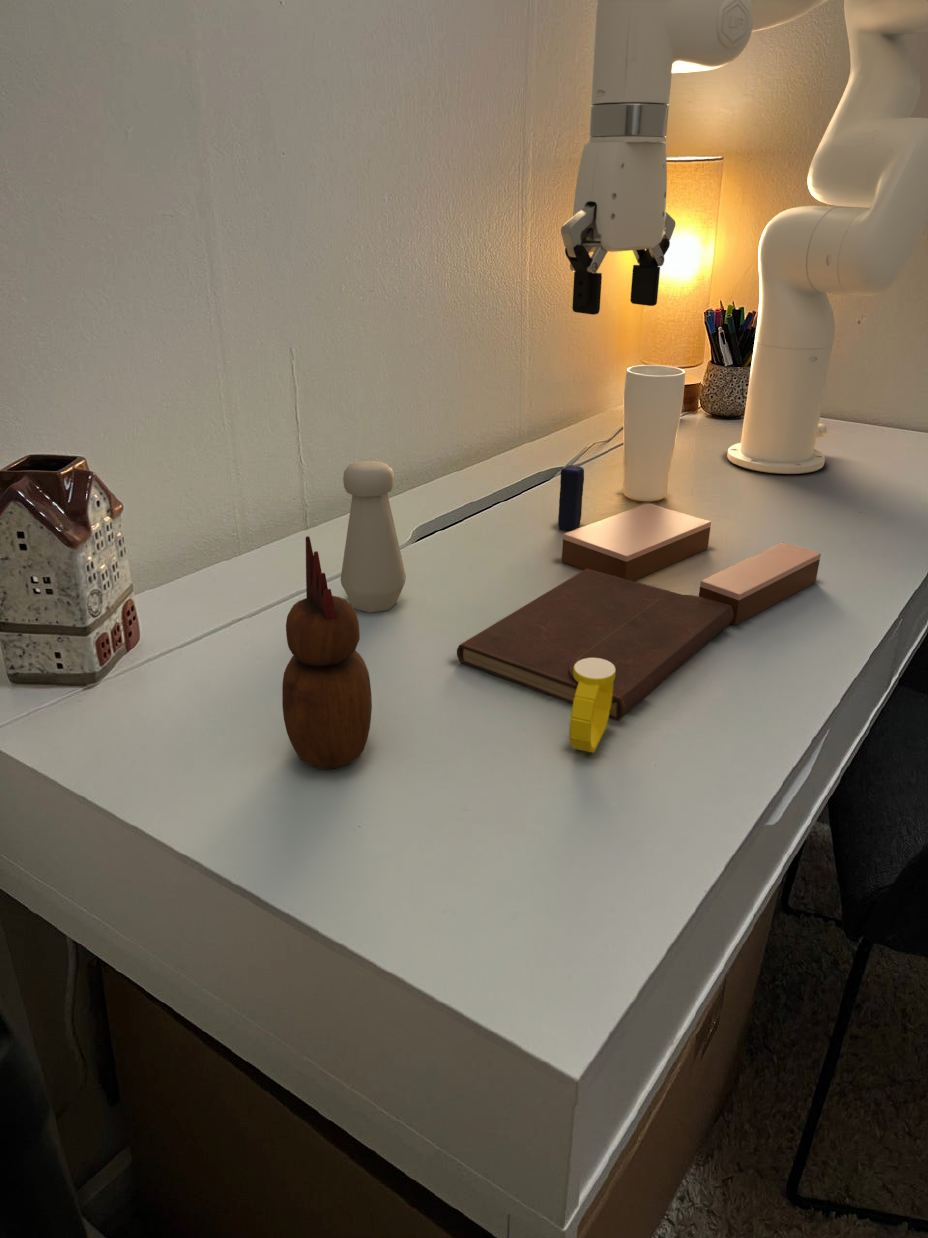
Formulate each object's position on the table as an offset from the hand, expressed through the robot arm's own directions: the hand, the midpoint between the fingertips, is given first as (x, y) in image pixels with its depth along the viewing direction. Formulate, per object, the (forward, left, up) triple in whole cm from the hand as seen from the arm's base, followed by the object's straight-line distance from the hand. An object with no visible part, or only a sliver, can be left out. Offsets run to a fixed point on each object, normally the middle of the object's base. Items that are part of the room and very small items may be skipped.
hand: (615, 308), depth 99 cm
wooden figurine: (+53, +20, -22) cm, 61 cm away
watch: (+39, +31, -22) cm, 55 cm away
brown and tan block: (+9, +12, -22) cm, 27 cm away
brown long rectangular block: (+9, +26, -22) cm, 35 cm away
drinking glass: (-7, +1, -22) cm, 23 cm away
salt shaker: (+36, +3, -22) cm, 43 cm away
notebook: (+27, +22, -22) cm, 41 cm away
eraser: (+8, +2, -22) cm, 24 cm away
